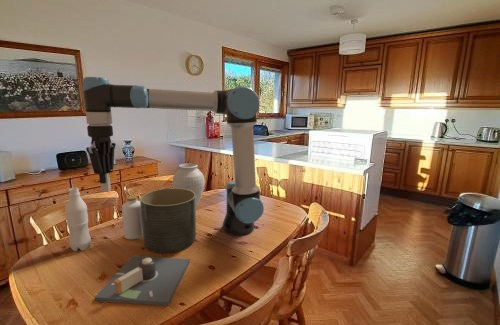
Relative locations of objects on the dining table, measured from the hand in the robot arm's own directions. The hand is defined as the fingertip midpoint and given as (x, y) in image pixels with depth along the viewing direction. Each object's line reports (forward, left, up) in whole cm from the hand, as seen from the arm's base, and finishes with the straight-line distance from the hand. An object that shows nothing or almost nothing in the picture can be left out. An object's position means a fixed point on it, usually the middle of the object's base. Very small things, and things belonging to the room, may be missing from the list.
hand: (106, 191), depth 93 cm
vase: (-14, -53, -27) cm, 61 cm away
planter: (-17, -15, -27) cm, 35 cm away
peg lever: (-17, +15, -25) cm, 34 cm away
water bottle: (+16, -5, -27) cm, 31 cm away
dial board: (-19, +11, -26) cm, 34 cm away
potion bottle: (0, -17, -27) cm, 32 cm away
